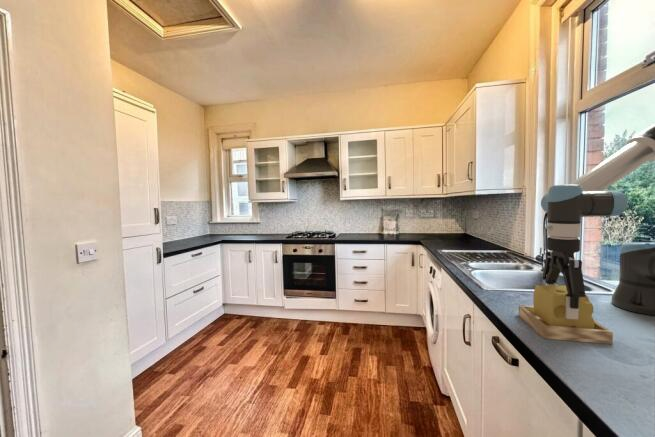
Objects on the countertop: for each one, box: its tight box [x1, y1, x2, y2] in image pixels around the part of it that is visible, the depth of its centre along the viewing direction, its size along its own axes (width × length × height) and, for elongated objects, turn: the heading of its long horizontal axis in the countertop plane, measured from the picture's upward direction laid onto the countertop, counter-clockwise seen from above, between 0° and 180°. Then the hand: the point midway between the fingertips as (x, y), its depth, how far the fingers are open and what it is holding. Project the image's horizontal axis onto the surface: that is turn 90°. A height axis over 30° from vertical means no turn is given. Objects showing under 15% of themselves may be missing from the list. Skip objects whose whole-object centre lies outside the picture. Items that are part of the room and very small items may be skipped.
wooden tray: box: [518, 305, 614, 345], centre depth 83 cm, size 16×16×3 cm
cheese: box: [532, 284, 595, 329], centre depth 83 cm, size 10×11×10 cm
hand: (560, 311), depth 83 cm, fingers closed on cheese, 10 cm apart
